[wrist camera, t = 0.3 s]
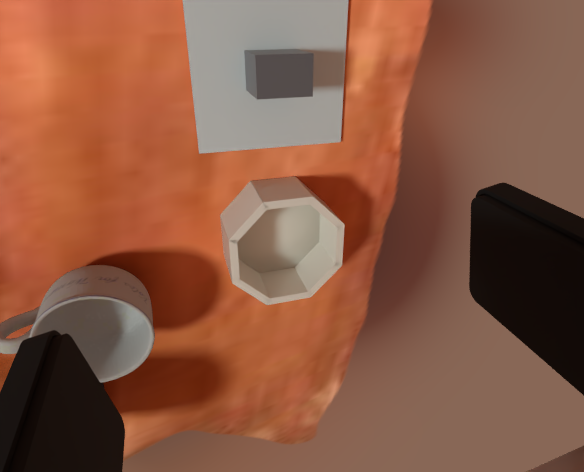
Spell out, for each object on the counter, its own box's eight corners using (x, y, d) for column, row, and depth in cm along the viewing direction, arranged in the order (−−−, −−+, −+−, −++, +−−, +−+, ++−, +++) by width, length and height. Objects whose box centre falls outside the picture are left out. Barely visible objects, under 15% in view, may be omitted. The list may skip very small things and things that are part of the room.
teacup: (162, 259, 46) (164, 302, 39) (145, 338, 50) (144, 389, 43) (14, 240, 41) (-14, 286, 34) (8, 330, 44) (-18, 387, 38)
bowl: (217, 184, 44) (225, 206, 39) (325, 173, 47) (346, 192, 42) (226, 280, 49) (234, 310, 44) (322, 264, 52) (340, 291, 47)
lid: (179, -24, 35) (183, -31, 30) (345, -21, 39) (374, -26, 34) (198, 150, 42) (204, 169, 37) (337, 139, 46) (360, 155, 41)
